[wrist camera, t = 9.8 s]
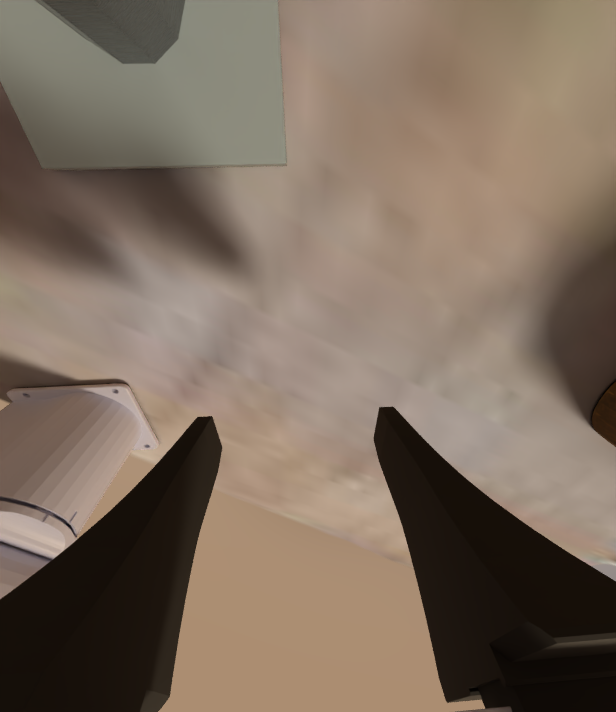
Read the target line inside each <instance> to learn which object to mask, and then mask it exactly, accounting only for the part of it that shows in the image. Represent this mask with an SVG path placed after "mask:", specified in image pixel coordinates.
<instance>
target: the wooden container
mask: <svg viewBox="0 0 616 712" xmlns="http://www.w3.org/2000/svg"><path fill="white" fill-rule="evenodd" d="M592 424H593V428H594V429H595V431H596V432H597V433H598V434H600V435H601V436H602V437H603V438H605V439H606V440H607V441H608V442H610V443H611V444H612V445H614V446H615V447H616V381H615V382H614V383H613V384H612V385H611V386H610V388H609V389H608V390H607V391H606V392H605V393H604V395H603V396H602V397H601V399H600V400H599V402H598V404H597V405H596V407H595V409H594V412H593V416H592Z"/></svg>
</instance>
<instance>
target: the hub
mask: <svg viewBox="0 0 616 712" xmlns="http://www.w3.org/2000/svg"><path fill="white" fill-rule="evenodd" d="M35 1H36V2H38V3H39V4H40V5H42V6H43V7H44V8H46V9H47V10H48V11H50V12H51V13H52V14H53V15H55V16H56V17H57V18H59V19H60V20H61V21H63V22H64V23H65V24H66V25H68V26H69V27H70V28H72V29H73V30H74V31H76V32H77V33H78V34H80V35H81V36H82V37H83V38H85V39H86V40H87V41H90V42H91V43H93V44H94V45H96V46H97V47H99V48H100V49H102V50H103V51H105V52H106V53H108V54H109V55H111V56H112V57H114V58H115V59H117V60H118V61H119V62H121V63H122V64H156V62H157V61H158V60H159V59H160V58H161V57H162V56H163V55H164V54H165V53H166V52H167V51H168V50H169V48H170V47H171V46H172V45H173V44H174V43H175V42H176V41H177V40H178V39H179V32H180V27H181V21H182V15H183V10H184V4H185V0H35Z"/></svg>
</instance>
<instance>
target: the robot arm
mask: <svg viewBox="0 0 616 712" xmlns="http://www.w3.org/2000/svg"><path fill="white" fill-rule="evenodd" d="M116 389H117V390H116ZM7 396H8V397H9V398H10V399H11V401H12V403H10V404H9V405H8V406H6V407H5V408H4V409H2V410H1V411H0V712H158V711H159V710H160V709H161V708H162V706H163V705H164V704H165V702H166V701H167V700H168V698H169V697H170V691H171V684H172V677H173V671H174V664H175V658H176V651H177V644H178V638H179V632H180V627H181V621H182V615H183V610H184V604H185V598H186V593H187V588H188V583H189V578H190V573H191V568H192V563H193V559H194V553H195V549H196V545H197V540H198V537H199V532H200V529H201V525H202V522H203V519H204V516H205V512H206V509H207V506H208V503H209V499H210V496H211V493H212V490H213V486H214V483H215V480H216V476H217V473H218V468H219V463H220V458H221V452H222V445H221V442H220V439H219V436H218V433H217V430H216V427H215V423H214V420H213V417H212V416H208V417H197V418H196V419H195V421H194V422H193V423H192V424H191V425H190V426H189V428H188V429H187V430H186V431H185V432H184V434H183V435H182V436H181V437H180V438H179V439H178V441H177V442H176V443H175V444H174V445H173V446H172V448H171V449H170V450H169V451H168V452H167V453H166V454H165V455H164V457H163V458H162V459H161V460H160V461H159V462H158V463H157V464H156V465H155V467H154V468H153V469H152V470H151V471H150V472H149V473H148V474H147V475H146V476H145V477H144V478H143V479H142V480H141V481H140V482H139V483H138V484H137V485H136V487H134V489H132V491H130V493H128V494H127V495H126V496H125V497H124V498H123V499H122V500H121V501H120V502H119V503H118V504H117V505H116V506H115V507H114V508H113V509H112V510H111V511H110V512H108V513H107V514H106V515H105V516H104V517H103V518H102V519H101V520H99V521H98V522H97V523H96V524H95V525H94V526H92V527H91V528H90V529H89V530H88V531H87V532H85V533H84V534H83V535H82V536H81V537H79V538H78V539H77V538H76V537H77V535H78V534H79V533H80V531H81V530H82V528H83V526H84V525H85V523H86V522H87V520H88V518H89V517H90V515H91V514H92V512H93V511H94V509H95V507H96V506H97V504H98V503H99V501H100V499H101V498H102V496H103V495H104V493H105V492H106V490H107V489H108V487H109V485H110V484H111V482H112V481H113V479H114V478H115V476H116V474H117V473H118V471H119V470H120V468H121V466H122V465H123V463H124V462H125V460H126V459H127V457H128V456H129V454H130V452H131V451H132V450H143V449H156V448H157V447H158V446H159V442H158V440H157V438H156V436H155V434H154V432H153V430H152V428H151V427H150V425H149V423H148V421H147V419H146V417H145V415H144V413H143V412H142V410H141V408H140V406H139V404H138V402H137V400H136V398H135V396H134V395H133V393H132V391H131V389H130V387H129V386H128V385H126V384H100V385H80V386H59V387H38V388H17V389H11V390H10V391H8V392H7ZM374 443H375V447H376V451H377V455H378V459H379V463H380V465H381V468H382V471H383V474H384V476H385V479H386V482H387V485H388V487H389V490H390V493H391V495H392V498H393V501H394V503H395V506H396V509H397V512H398V514H399V517H400V520H401V523H402V526H403V530H404V533H405V537H406V541H407V544H408V548H409V552H410V555H411V559H412V563H413V567H414V570H415V575H416V578H417V582H418V586H419V591H420V595H421V599H422V603H423V607H424V611H425V615H426V620H427V624H428V629H429V633H430V638H431V642H432V647H433V651H434V656H435V661H436V666H437V670H438V675H439V679H440V683H441V686H442V689H443V693H444V696H445V699H446V701H447V702H448V703H449V702H459V701H470V700H480V699H482V701H483V703H484V706H485V709H478V710H468V711H457V712H616V581H614V580H613V579H611V578H609V577H608V576H606V575H604V574H602V573H601V572H599V571H598V570H596V569H595V568H593V567H591V566H590V565H588V564H586V563H585V562H583V561H581V560H580V559H578V558H577V557H575V556H573V555H572V554H570V553H568V552H567V551H565V550H564V549H562V548H561V547H559V546H558V545H556V544H554V543H553V542H551V541H550V540H548V539H547V538H545V537H544V536H542V535H541V534H539V533H538V532H536V531H535V530H533V529H532V528H531V527H529V526H528V525H526V524H525V523H523V522H522V521H521V520H519V519H518V518H516V517H515V516H514V515H512V514H511V513H510V512H508V511H507V510H505V509H504V508H503V507H501V506H500V505H499V504H497V503H496V502H494V501H493V500H492V499H491V498H489V497H488V496H487V495H485V494H484V493H483V492H482V491H480V490H479V489H478V488H477V487H476V486H474V485H473V484H472V483H471V482H469V481H468V480H467V479H466V478H465V477H463V476H462V475H461V474H460V473H459V472H458V471H457V470H456V469H454V468H453V467H452V466H451V465H450V464H449V463H448V462H447V461H446V460H445V459H443V458H442V457H441V456H440V455H439V454H438V453H437V452H436V451H435V450H434V449H433V448H432V447H431V446H430V445H429V444H428V443H427V442H426V441H425V440H424V439H423V438H422V437H421V436H420V435H419V434H418V433H417V432H416V431H415V429H414V428H413V427H412V426H411V425H410V424H409V423H408V422H407V421H406V420H405V419H404V418H403V416H402V415H401V414H400V413H399V412H398V411H397V410H396V409H395V408H394V407H379V412H378V418H377V423H376V428H375V434H374Z"/></svg>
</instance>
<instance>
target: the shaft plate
mask: <svg viewBox="0 0 616 712" xmlns="http://www.w3.org/2000/svg"><path fill="white" fill-rule="evenodd" d="M0 82H1V84H2V86H3V88H4V90H5V92H6V94H7V96H8V98H9V101H10V103H11V105H12V107H13V109H14V111H15V113H16V115H17V117H18V119H19V121H20V123H21V125H22V128H23V130H24V132H25V134H26V136H27V138H28V140H29V142H30V144H31V146H32V148H33V150H34V153H35V155H36V157H37V159H38V161H39V163H40V165H41V167H42V168H43V169H51V170H101V169H152V168H203V167H255V166H287V160H286V141H285V122H284V103H283V85H282V66H281V47H280V28H279V9H278V0H185V4H184V10H183V15H182V21H181V27H180V32H179V39H178V40H177V41H176V42H175V43H174V44H173V45H172V46H171V47H170V48H169V50H168V51H167V52H166V53H165V54H164V55H163V56H162V57H161V58H160V59H159V60H158V61H157V62H156V64H122V63H121V62H119V61H118V60H117V59H115V58H114V57H112V56H111V55H109V54H108V53H106V52H105V51H103V50H102V49H100V48H99V47H97V46H96V45H94V44H93V43H91V42H90V41H87V40H86V39H85V38H83V37H82V36H81V35H80V34H78V33H77V32H76V31H74V30H73V29H72V28H70V27H69V26H68V25H66V24H65V23H64V22H63V21H61V20H60V19H59V18H57V17H56V16H55V15H53V14H52V13H51V12H50V11H48V10H47V9H46V8H44V7H43V6H42V5H40V4H39V3H38V2H36V1H35V0H0Z"/></svg>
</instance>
